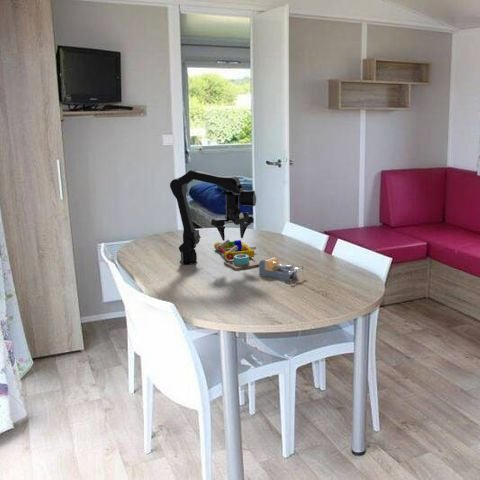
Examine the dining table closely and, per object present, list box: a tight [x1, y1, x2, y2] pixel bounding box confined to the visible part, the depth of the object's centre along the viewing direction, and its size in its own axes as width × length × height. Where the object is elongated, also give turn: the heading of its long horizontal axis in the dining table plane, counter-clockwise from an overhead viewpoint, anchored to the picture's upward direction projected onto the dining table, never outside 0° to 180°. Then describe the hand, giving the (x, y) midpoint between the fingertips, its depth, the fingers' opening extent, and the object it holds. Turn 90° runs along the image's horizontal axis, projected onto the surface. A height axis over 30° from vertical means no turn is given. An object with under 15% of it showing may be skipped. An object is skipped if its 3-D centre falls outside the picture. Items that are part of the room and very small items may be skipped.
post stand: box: [223, 254, 259, 271], centre depth 242 cm, size 12×12×5 cm
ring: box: [233, 255, 250, 265], centre depth 242 cm, size 6×6×3 cm
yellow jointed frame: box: [213, 238, 257, 261], centre depth 259 cm, size 18×6×30 cm
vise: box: [258, 256, 306, 282], centre depth 225 cm, size 18×10×7 cm, turn 49°
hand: (232, 239), depth 241 cm, fingers open, 9 cm apart
